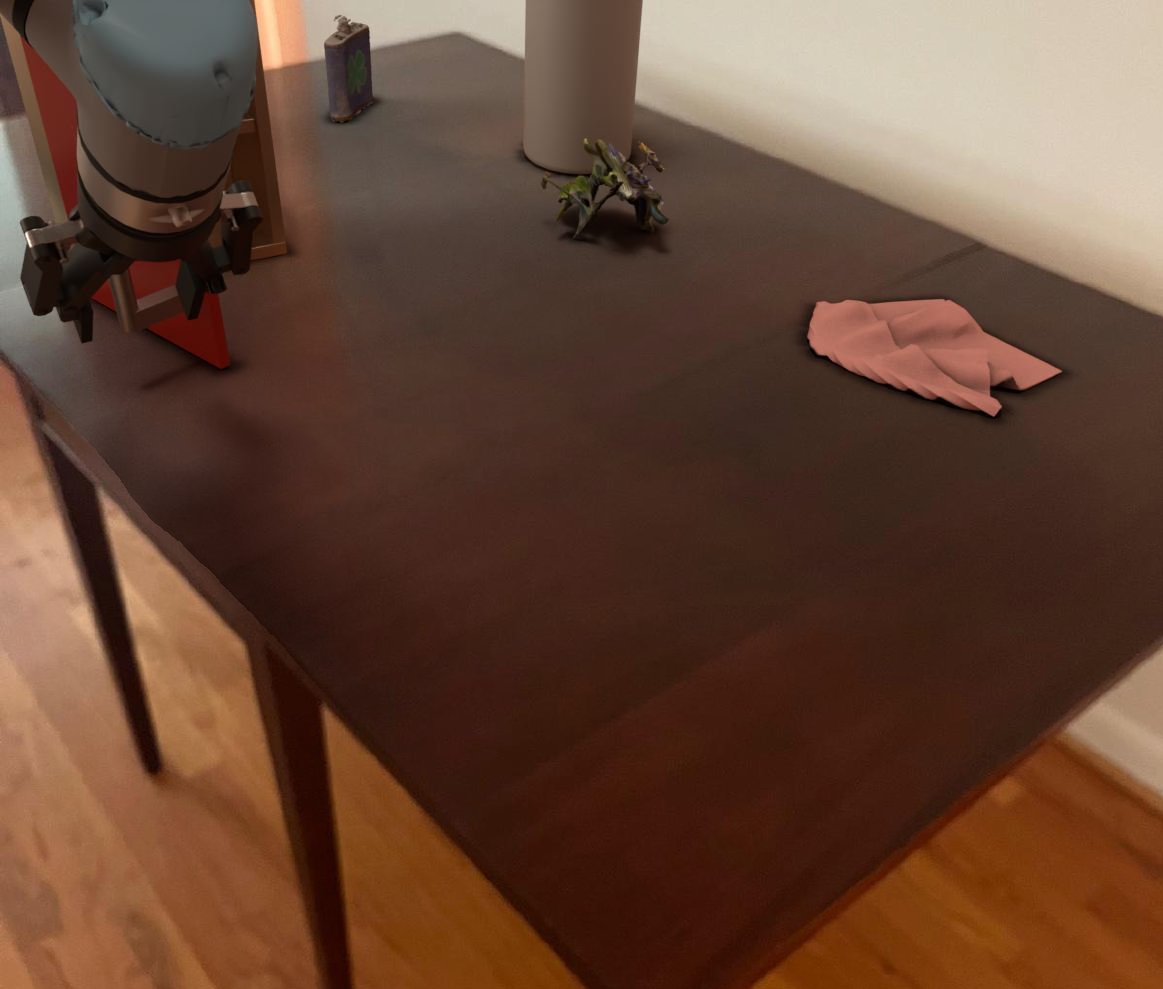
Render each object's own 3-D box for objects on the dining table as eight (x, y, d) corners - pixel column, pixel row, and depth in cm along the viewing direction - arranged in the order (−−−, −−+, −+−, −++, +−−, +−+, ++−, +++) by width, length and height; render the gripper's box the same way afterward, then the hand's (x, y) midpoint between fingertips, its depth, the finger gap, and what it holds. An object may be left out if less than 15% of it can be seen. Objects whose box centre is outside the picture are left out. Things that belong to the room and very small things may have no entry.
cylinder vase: (646, 171, 129) (668, -76, 113) (543, 181, 126) (550, -73, 109) (607, 132, 138) (622, -103, 121) (509, 140, 134) (511, -101, 118)
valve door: (156, 400, 89) (82, 81, 73) (22, 321, 97) (-71, 18, 81) (230, 364, 93) (176, 57, 77) (97, 292, 101) (23, 0, 85)
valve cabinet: (287, 253, 109) (251, -25, 93) (90, 292, 102) (14, -4, 85) (246, 206, 117) (206, -59, 101) (60, 239, 109) (-16, -42, 93)
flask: (345, 124, 136) (337, 28, 128) (323, 120, 136) (313, 25, 129) (378, 100, 142) (371, 8, 135) (356, 97, 143) (349, 5, 136)
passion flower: (636, 277, 121) (699, 211, 111) (551, 280, 115) (610, 210, 105) (603, 186, 123) (661, 113, 113) (518, 184, 117) (572, 107, 107)
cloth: (785, 300, 107) (789, 276, 106) (1005, 300, 109) (1013, 277, 108) (841, 419, 92) (847, 394, 90) (1096, 417, 94) (1106, 392, 93)
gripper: (-20, 273, 57) (7, 395, 78) (347, 206, 66) (283, 332, 86) (-71, 133, 57) (-31, 292, 78) (303, 83, 65) (249, 238, 86)
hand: (134, 312), depth 82 cm, fingers open, 7 cm apart
